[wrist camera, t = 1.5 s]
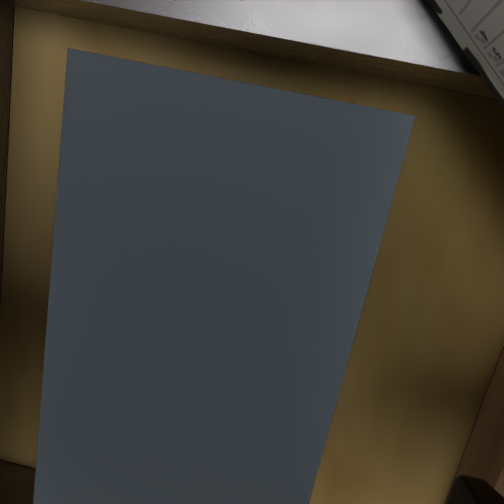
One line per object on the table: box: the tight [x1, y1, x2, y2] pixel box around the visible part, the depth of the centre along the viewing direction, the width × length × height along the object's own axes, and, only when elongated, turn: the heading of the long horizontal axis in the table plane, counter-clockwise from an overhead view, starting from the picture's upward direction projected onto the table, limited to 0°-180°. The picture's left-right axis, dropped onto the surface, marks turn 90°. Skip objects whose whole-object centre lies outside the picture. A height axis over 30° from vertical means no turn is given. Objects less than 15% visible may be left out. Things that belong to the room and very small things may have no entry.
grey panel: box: [33, 48, 415, 504], centre depth 10 cm, size 3×12×9 cm, turn 169°
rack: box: [0, 0, 496, 504], centre depth 12 cm, size 15×18×5 cm
